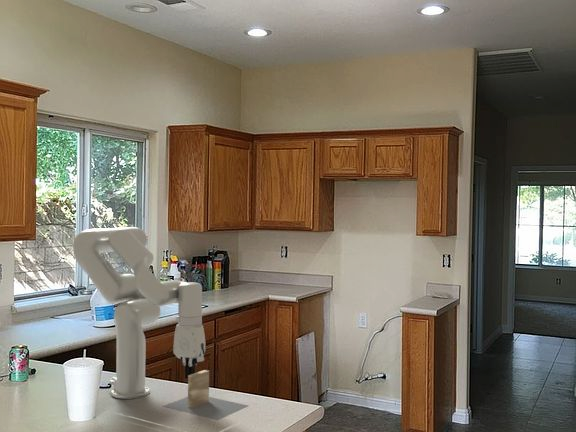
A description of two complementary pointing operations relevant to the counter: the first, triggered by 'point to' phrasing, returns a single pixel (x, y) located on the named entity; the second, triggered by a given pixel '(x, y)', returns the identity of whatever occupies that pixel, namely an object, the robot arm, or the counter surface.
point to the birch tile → (198, 388)
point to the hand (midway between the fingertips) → (189, 377)
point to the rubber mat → (208, 407)
